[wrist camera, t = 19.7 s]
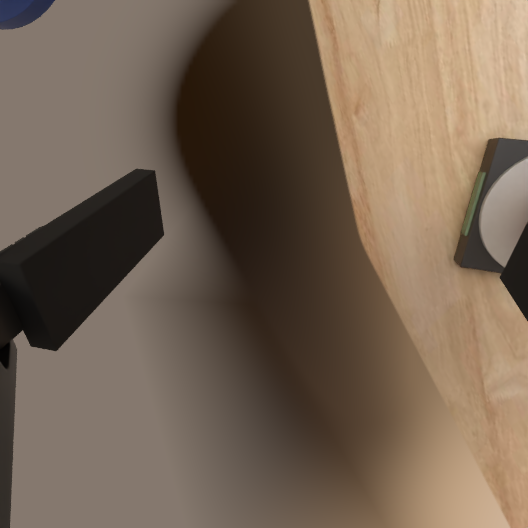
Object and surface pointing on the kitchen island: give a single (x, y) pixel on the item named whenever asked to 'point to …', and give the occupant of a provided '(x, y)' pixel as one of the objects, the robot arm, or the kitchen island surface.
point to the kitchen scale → (496, 207)
